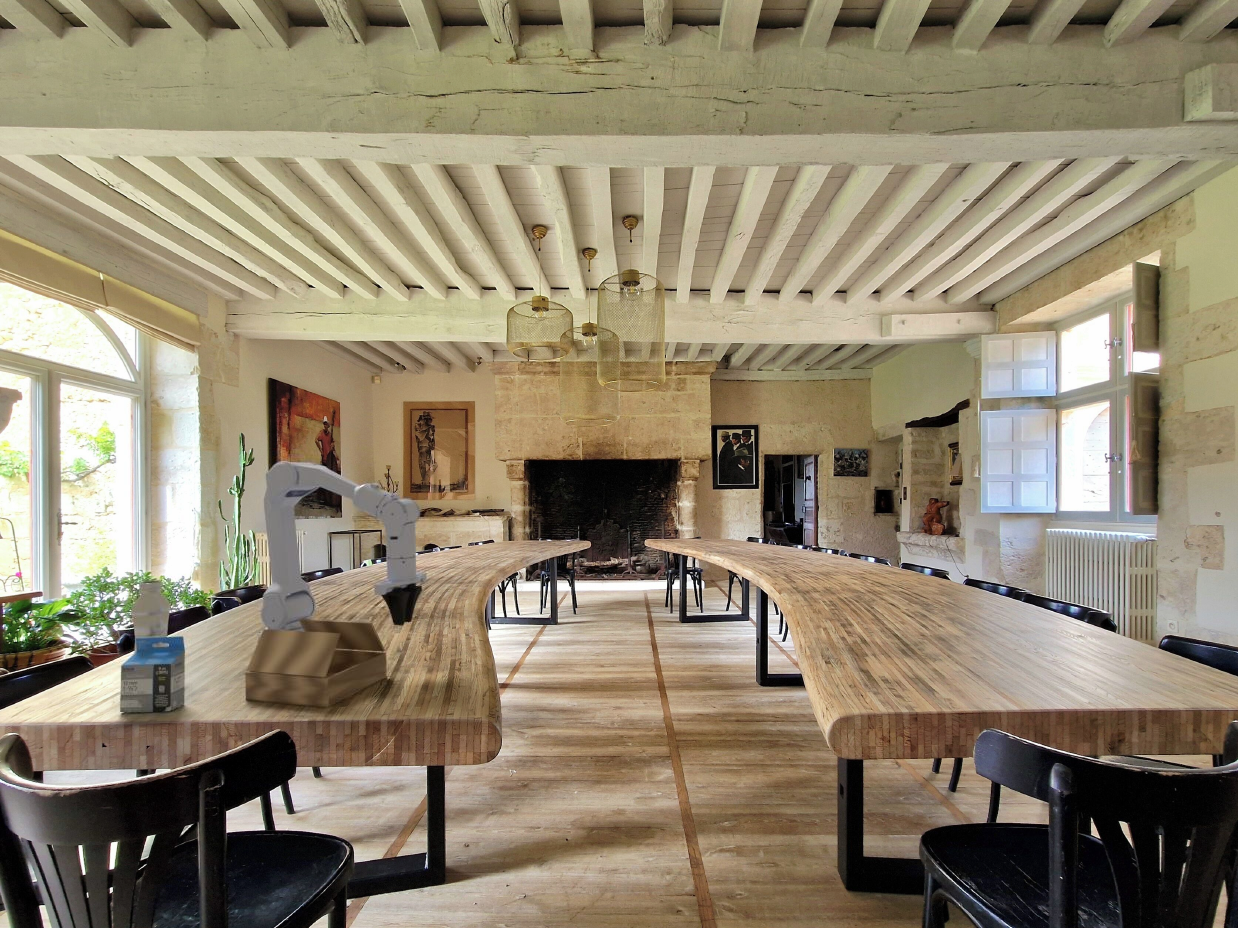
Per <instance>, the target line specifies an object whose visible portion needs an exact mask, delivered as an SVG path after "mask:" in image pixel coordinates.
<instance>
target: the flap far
mask: <svg viewBox="0 0 1238 928" xmlns="http://www.w3.org/2000/svg"><path fill="white" fill-rule="evenodd" d="M299 621H300V623H301V625H302V627H303V629H304V631H306V632H324V633H340V637H339V640H338V643H337V646H336V649H338V650H354V651H370V652H385V651H386V648H385V647H384V645H383V643H382V641H381V639H380V636H379V634H378V632H377V631H376V628H375V626H374V624H373V621H365V620H364V621H363V620H341V619H340V620H339V619H323V618H321V619H319V618H310V619H302V618H300V619H299Z"/></svg>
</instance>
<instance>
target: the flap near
mask: <svg viewBox="0 0 1238 928" xmlns="http://www.w3.org/2000/svg"><path fill="white" fill-rule="evenodd" d="M262 630H263V632H262V631H261V632H262V634H261V637H260V639H259V641H258V640H257V643H258V644H256V646H255V649H254V651H253V653H252V656H251V659H250V661H249V664H248V666H247V668H246V672H248V671H252V672H264V673H277V674H289V675H302V676H315V677H326V675H327V672H328V669H329V666H330V663H331V660H332V657H333V654H334V652H335V649H336V646H337V643H338V640H339V637H340V633H324V632H306V631H287V630H269V629H265V628H264V629H262Z"/></svg>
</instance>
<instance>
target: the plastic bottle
mask: <svg viewBox="0 0 1238 928" xmlns="http://www.w3.org/2000/svg"><path fill="white" fill-rule="evenodd" d="M161 591H163V582H162V580H159V579H158V580H148V581H147V580H146V581H141V582H139V590H138V592H139V593H140V595H139V596H138V598H137V599H136V600H135V602H134V603H133V605H132V607H131V618H132V623H133V629H134V652H133V654H134V653H135V652H136V651H137V649H136V638H152V637H168V629H169V628H168V627H169V618H170V617H169V616H170V613H171V611H170V610H171V603H170V601H169V600H168V599H167V597H166V596H165V595H164V594H163V593H162V592H161ZM167 646H169V644H167V643H164V644H163V643H162V642H159V643H158V644H153V647H167Z"/></svg>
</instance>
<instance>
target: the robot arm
mask: <svg viewBox="0 0 1238 928" xmlns="http://www.w3.org/2000/svg"><path fill="white" fill-rule="evenodd" d="M265 482H266V490H265V493H264V497H263V508H264V510H263V511H264V521H265V526H266V527H265V528H266V539H267V546H268V547H267V548H268V556H269V566H270V574H271V576H270V577H271V584H270V585H269V587H268V588H267V589H266V590H265V592H264V593H263V594H262V599H263V601H262V607H261V610H260V619H261V622H262V623H263V625H264V626H265V628H264V629H269V630H287V631H304V629H303V627H302V625H301V623H300V621H299V619H300V618H302V619H311V617H313V615H314V614H315V611H316V609H317V607H316V606H317V605H316V599H315V598H314V596H313V594H312V592H311V586H310V584H309V583H308V582H306V581H305V580H304V579H302V571H301V564H300V563H301V562H300V553H299V545H298V535H297V528H296V527H297V526H296V516H295V509H294V508H295V506H296V505H297V504H298V503H299V502H300V500H302V498H304V497H306V496H308V495H309V494H311V493H313V492H315V491H316V490H317V489H319V488H323V489H325V490H327V491H330V492H332V493H335V494H337V495H339V496H342V497H344V498H347V499H349V500H352V504H353V507H354V508H355V509H357V510H360V511H362V512H363V513H365V514H368V515H370V516H372V517H375V518H376V519H378V520H379V521H380V522H381V523H382V525H383V526H384V532H385V534H386V535H385V536H386V537H385V538H386V539H385V540H386V541H385V543H386V546H385V549H386V552H385V553H386V579H384V580H383V581H380V582H379V583H376V584H374V585H373V588H374V595H380V596H381V597H382V599H383V600H384V602H385V603H386V606H387V607H388V610H389V613H390V616H391V620H392V623H393V626H404V625H405V623H411V622H412V620H413V616H414V611H415V608H416V605H417V602H418V599H419V598H420V597H419V596H420V595H421V593H422V591H423V586H422V585H418V584H421V583H427V573H426V572H417V552H416V551H417V549H416V548H417V546H416V542H417V541H416V539H417V538H416V536H417V535H416V523H417V522H418V520H419V519H420V516H421V508H420V506H419V504H418V503H417V502H416V501H414V500H413V498H409V497H405V498H401V499H400V497H399V496H400V495H399V493H396V492H392V493H391V492H389V491H387V490H385V489H382V488H380V487H381V485H380V484H378V483H376V482H371V483H369V482H368V483H363V484H361V485H359V484H357V483H356V482H354V481H352V480H350V479H348V478H347V477H345V476H343V475H341V474H338V473H337V472H335V471H333V470H331V469H329V468H328V467H327V466H324V465H320V464H317V463H315V462H313V461H312V462H311V461H308V462H294V461H291V462H290V461H284V460H283V461H278V462H276V463H275V464H273V465H272V467H270V469H269V470H267V472H266V473H265ZM262 632H263V629H262V631H261V632H260V633H259V635H258V638H257V644H258V641H259V639H260V637H261V634H262ZM257 644H256V645H257Z"/></svg>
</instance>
